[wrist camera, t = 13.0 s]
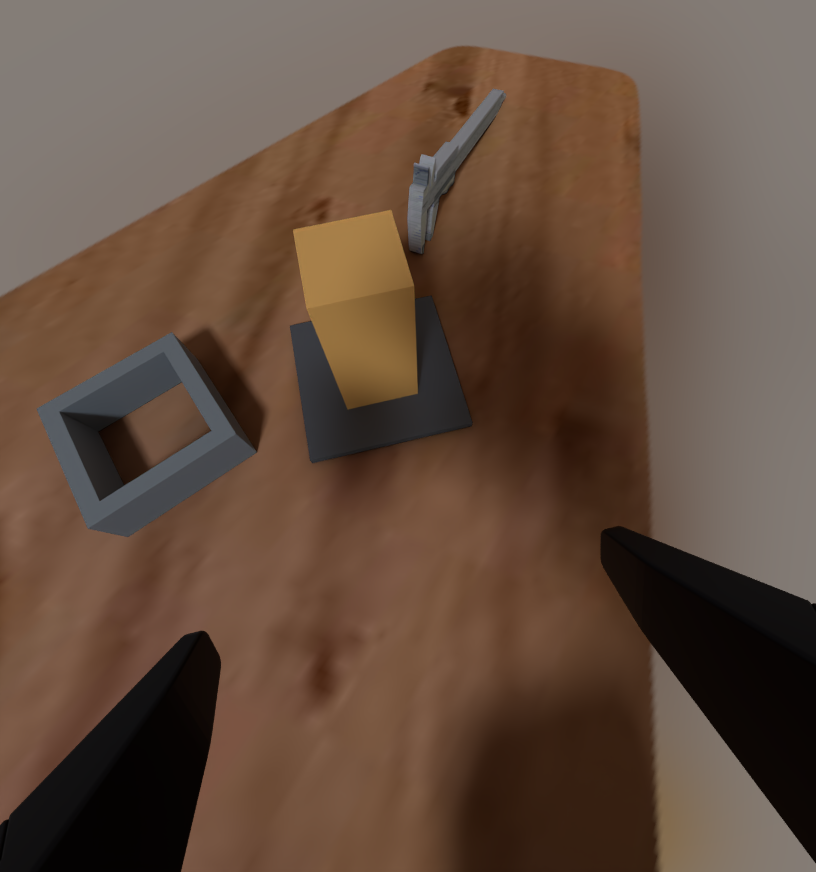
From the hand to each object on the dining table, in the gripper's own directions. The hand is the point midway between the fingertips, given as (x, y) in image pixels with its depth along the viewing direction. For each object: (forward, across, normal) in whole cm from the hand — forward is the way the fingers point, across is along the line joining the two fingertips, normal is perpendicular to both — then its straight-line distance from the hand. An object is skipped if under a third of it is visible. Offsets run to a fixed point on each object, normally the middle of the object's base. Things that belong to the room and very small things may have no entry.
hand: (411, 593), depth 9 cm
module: (+19, 0, 0) cm, 19 cm away
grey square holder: (+18, +13, +1) cm, 23 cm away
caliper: (+32, -11, -12) cm, 36 cm away
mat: (+19, 0, 0) cm, 19 cm away
